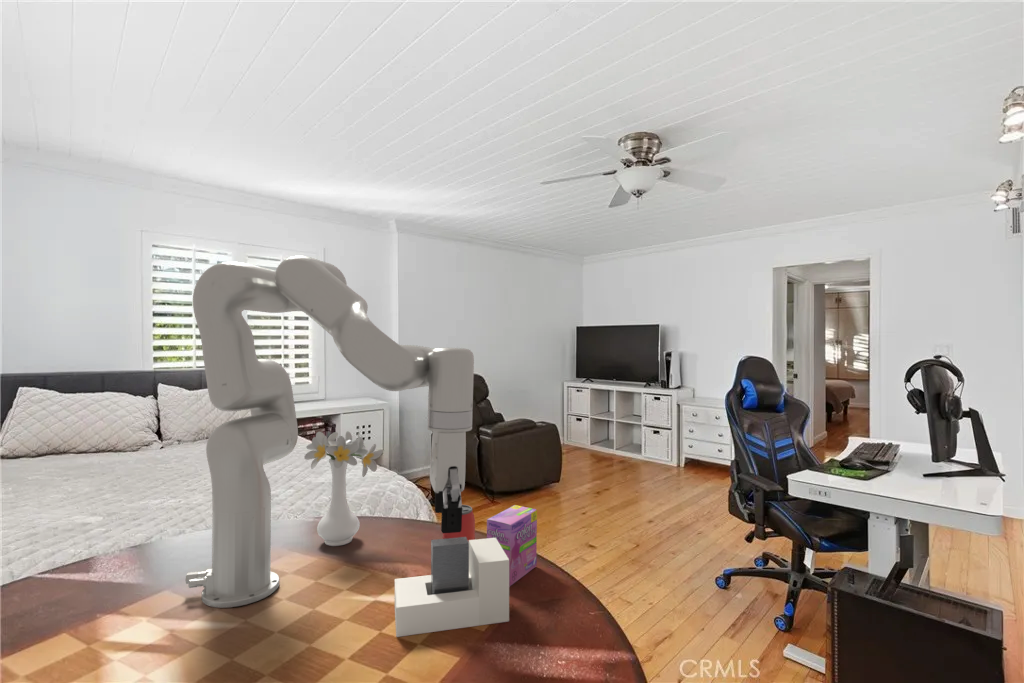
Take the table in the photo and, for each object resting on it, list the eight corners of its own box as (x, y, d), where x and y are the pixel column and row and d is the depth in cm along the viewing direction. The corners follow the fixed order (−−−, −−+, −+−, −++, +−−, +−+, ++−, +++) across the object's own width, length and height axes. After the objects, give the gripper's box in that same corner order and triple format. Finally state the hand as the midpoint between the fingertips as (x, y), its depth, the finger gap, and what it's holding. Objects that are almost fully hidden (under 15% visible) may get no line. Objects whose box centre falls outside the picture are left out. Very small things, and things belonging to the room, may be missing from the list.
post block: (396, 636, 78) (396, 571, 78) (394, 605, 88) (394, 547, 88) (509, 621, 82) (509, 559, 83) (495, 592, 92) (495, 537, 92)
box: (510, 587, 94) (510, 523, 94) (485, 580, 97) (485, 518, 97) (537, 567, 103) (537, 509, 103) (513, 560, 106) (514, 504, 106)
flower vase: (366, 554, 109) (367, 438, 109) (288, 549, 112) (289, 436, 112) (391, 533, 122) (391, 429, 122) (320, 528, 125) (321, 427, 125)
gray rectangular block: (432, 620, 83) (432, 546, 83) (430, 610, 86) (431, 539, 86) (468, 615, 84) (468, 543, 84) (465, 606, 87) (466, 536, 87)
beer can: (473, 575, 99) (473, 514, 99) (439, 575, 99) (440, 513, 99) (476, 561, 106) (476, 503, 106) (444, 560, 106) (445, 503, 106)
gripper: (423, 413, 93) (421, 506, 93) (432, 429, 76) (429, 542, 76) (463, 413, 95) (461, 504, 95) (481, 428, 78) (478, 539, 78)
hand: (447, 521), depth 85 cm, fingers open, 9 cm apart
